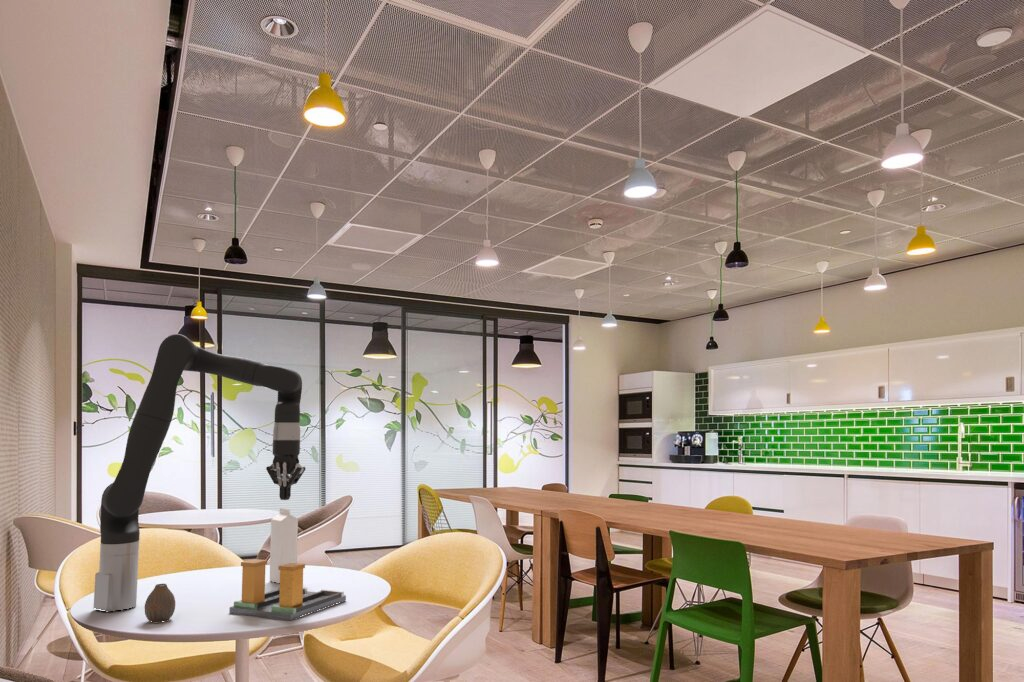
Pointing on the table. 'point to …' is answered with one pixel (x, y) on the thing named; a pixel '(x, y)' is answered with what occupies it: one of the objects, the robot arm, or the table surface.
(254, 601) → the orange capped square pillar
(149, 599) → the vase
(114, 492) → the robot arm
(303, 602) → the twin pillar base
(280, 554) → the milk
